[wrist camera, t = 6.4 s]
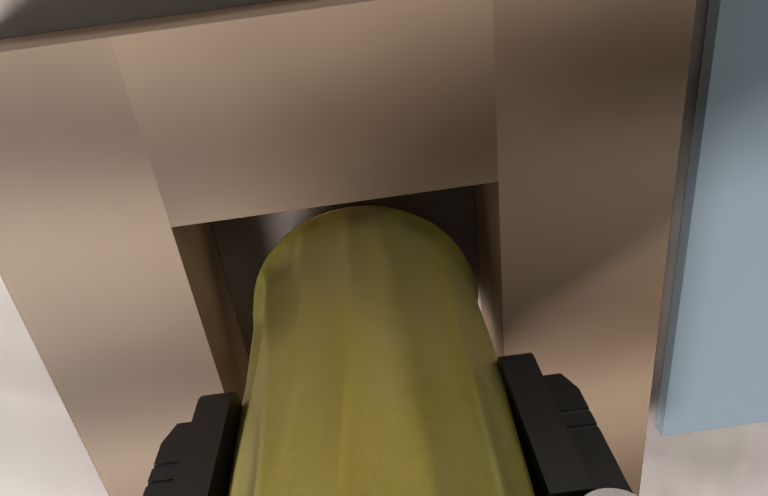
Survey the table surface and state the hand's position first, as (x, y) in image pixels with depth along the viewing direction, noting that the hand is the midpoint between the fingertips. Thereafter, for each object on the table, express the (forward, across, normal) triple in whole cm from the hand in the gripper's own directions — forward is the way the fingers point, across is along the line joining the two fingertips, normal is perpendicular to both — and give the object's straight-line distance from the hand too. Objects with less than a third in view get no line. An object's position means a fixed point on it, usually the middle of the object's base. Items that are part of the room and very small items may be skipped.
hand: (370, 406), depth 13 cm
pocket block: (+6, 0, 0) cm, 6 cm away
